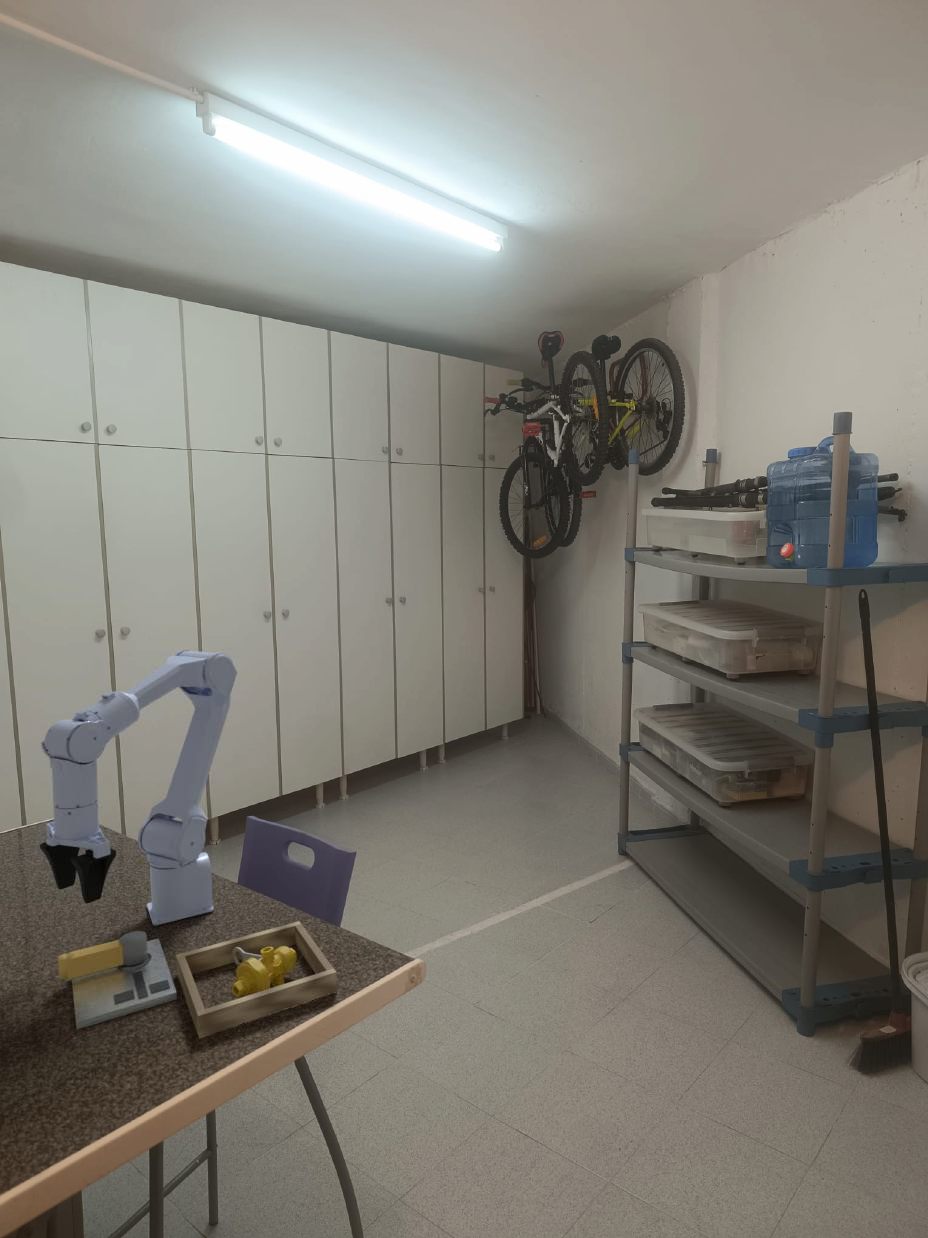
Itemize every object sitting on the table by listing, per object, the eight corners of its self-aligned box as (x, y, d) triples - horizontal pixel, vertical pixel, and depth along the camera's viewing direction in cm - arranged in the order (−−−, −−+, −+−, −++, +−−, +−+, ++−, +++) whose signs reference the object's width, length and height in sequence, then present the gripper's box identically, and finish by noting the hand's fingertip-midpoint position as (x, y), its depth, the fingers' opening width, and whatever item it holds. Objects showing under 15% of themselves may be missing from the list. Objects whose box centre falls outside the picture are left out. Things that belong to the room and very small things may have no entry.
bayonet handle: (145, 949, 109) (144, 928, 108) (149, 961, 105) (148, 939, 105) (59, 972, 103) (57, 950, 103) (59, 985, 100) (58, 963, 99)
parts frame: (299, 939, 114) (299, 921, 113) (336, 993, 100) (336, 972, 100) (177, 975, 104) (176, 955, 104) (199, 1039, 91) (198, 1016, 90)
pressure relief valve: (307, 976, 103) (251, 1015, 95) (251, 964, 110) (194, 999, 102) (301, 937, 103) (244, 973, 95) (245, 928, 110) (188, 960, 101)
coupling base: (159, 944, 113) (158, 937, 112) (176, 999, 99) (176, 991, 99) (64, 969, 106) (63, 962, 106) (69, 1032, 92) (68, 1023, 92)
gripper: (23, 800, 107) (26, 890, 108) (73, 820, 99) (76, 918, 100) (72, 788, 113) (75, 874, 114) (123, 806, 104) (126, 899, 105)
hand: (79, 893), depth 107 cm, fingers open, 7 cm apart
